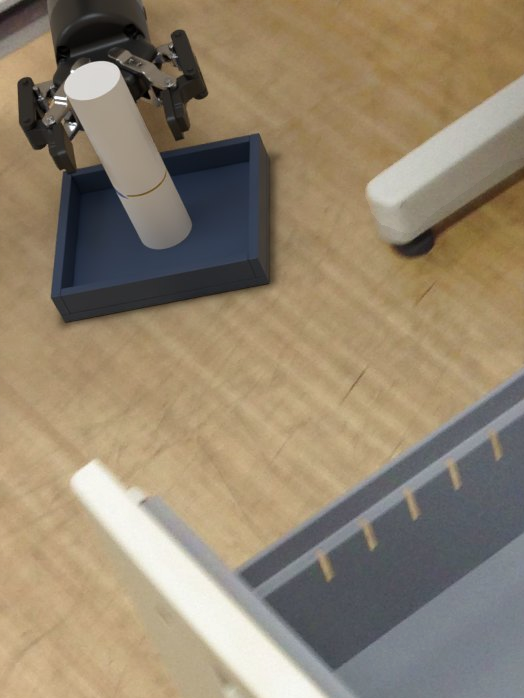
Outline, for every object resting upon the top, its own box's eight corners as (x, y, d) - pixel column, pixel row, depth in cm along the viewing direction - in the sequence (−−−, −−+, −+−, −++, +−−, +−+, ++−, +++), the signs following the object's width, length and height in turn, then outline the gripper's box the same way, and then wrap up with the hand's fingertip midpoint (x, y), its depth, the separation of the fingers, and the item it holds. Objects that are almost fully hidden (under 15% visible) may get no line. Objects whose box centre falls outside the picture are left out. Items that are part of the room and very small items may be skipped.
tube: (200, 213, 145) (129, 63, 133) (178, 251, 143) (104, 102, 131) (153, 209, 146) (79, 59, 134) (131, 246, 144) (54, 98, 132)
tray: (64, 322, 142) (50, 297, 139) (76, 196, 150) (62, 171, 148) (269, 283, 141) (257, 257, 138) (269, 158, 149) (259, 132, 147)
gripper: (-8, 10, 142) (9, 138, 133) (166, -44, 142) (195, 80, 133) (33, 86, 148) (52, 213, 139) (199, 35, 148) (229, 157, 139)
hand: (122, 148), depth 136 cm, fingers open, 8 cm apart
